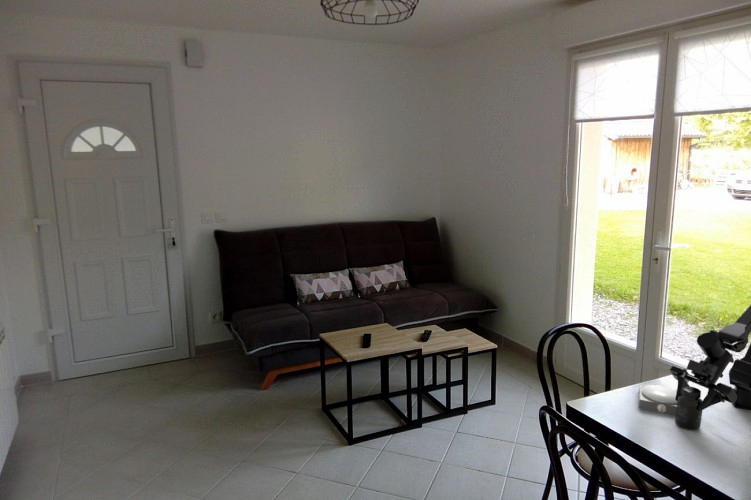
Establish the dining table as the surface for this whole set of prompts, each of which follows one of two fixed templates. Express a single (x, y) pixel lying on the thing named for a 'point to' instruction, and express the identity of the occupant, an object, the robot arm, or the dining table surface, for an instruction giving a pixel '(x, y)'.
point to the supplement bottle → (689, 409)
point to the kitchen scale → (657, 398)
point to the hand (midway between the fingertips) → (687, 405)
